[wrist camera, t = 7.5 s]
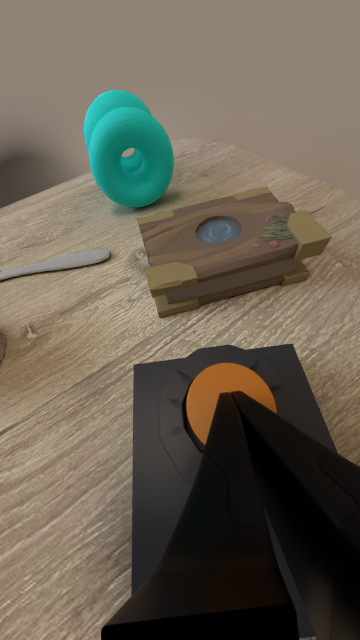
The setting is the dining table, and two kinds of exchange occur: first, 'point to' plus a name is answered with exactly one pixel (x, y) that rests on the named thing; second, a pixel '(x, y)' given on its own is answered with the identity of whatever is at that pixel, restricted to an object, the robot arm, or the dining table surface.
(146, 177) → the donuts
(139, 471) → the black button base
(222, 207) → the book
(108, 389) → the dining table surface
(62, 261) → the butter knife
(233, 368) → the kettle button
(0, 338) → the figurine
